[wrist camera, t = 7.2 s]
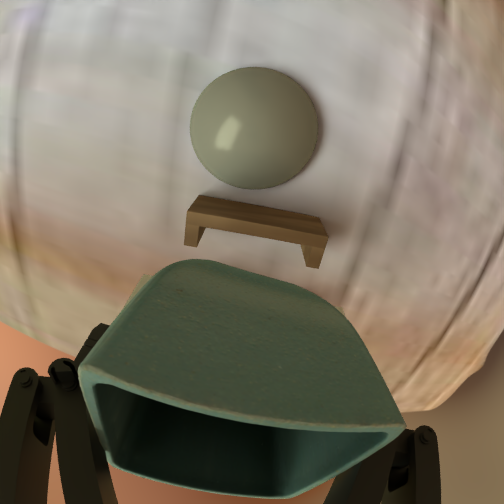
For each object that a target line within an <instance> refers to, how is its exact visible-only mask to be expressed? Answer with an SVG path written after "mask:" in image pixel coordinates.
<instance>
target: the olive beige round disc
mask: <svg viewBox="0 0 504 504" xmlns="http://www.w3.org/2000/svg"><path fill="white" fill-rule="evenodd" d="M317 135H318V122H317V116H316V112H315V109H314V106H313V104H312V102H311V100H310V98H309V97H308V95H307V94H306V92H305V91H304V90H303V89H302V88H301V87H300V86H299V85H298V84H297V83H296V82H295V81H294V80H292V79H291V78H289V77H288V76H286V75H284V74H282V73H280V72H277V71H275V70H271V69H267V68H260V67H247V68H241V69H237V70H233V71H230V72H228V73H226V74H223V75H222V76H220V77H218V78H217V79H215V80H214V81H213V82H212V83H210V84H209V85H208V86H207V87H206V88H205V89H204V91H203V92H202V93H201V95H200V96H199V98H198V100H197V101H196V103H195V106H194V108H193V111H192V115H191V120H190V136H191V141H192V145H193V148H194V151H195V153H196V155H197V157H198V159H199V160H200V162H201V163H202V164H203V166H204V167H205V168H206V169H207V170H208V171H209V172H210V173H211V174H212V175H214V176H215V177H216V178H218V179H219V180H221V181H223V182H225V183H227V184H229V185H232V186H235V187H239V188H244V189H264V188H269V187H273V186H276V185H279V184H281V183H283V182H285V181H287V180H289V179H290V178H292V177H293V176H295V175H296V174H297V173H298V172H299V171H300V170H301V169H302V168H303V167H304V166H305V165H306V163H307V162H308V160H309V159H310V157H311V155H312V153H313V151H314V148H315V145H316V142H317Z"/></svg>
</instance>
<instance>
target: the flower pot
mask: <svg viewBox="0 0 504 504" xmlns="http://www.w3.org/2000/svg"><path fill="white" fill-rule="evenodd" d="M78 376H79V378H78V379H79V383H80V387H81V390H82V393H83V397H84V400H85V402H86V405H87V408H88V411H89V413H90V416H91V419H92V422H93V424H94V428H95V430H96V433H97V435H98V438H99V442H100V443H101V445H102V447H103V449H104V450H105V452H106V457H107V461H108V462H109V463H110V464H111V465H112V466H113V467H115V468H117V469H120V470H123V471H125V472H128V473H131V474H135V475H137V476H140V477H142V478H147V479H150V480H154V481H158V482H162V483H166V484H170V485H174V486H179V487H183V488H188V489H194V490H199V491H204V492H211V493H217V494H226V495H233V496H243V497H254V498H268V499H284V498H285V499H287V498H292V497H295V496H297V495H300V494H302V493H304V492H306V491H308V490H310V489H312V488H314V487H316V486H318V485H320V484H322V483H324V482H326V481H328V480H330V479H331V478H334V477H335V476H337V475H339V474H340V473H342V472H344V471H346V470H347V469H349V468H351V467H352V466H354V465H356V464H357V463H359V462H360V461H362V460H364V459H366V458H367V457H369V456H370V455H372V454H373V453H375V452H376V451H378V450H379V449H381V448H383V447H384V446H386V445H387V444H388V443H390V442H391V441H393V440H394V439H395V438H396V437H398V436H399V435H400V434H401V433H402V432H403V430H405V428H406V423H405V421H404V419H403V417H402V416H401V413H400V411H399V409H398V407H397V405H396V403H395V401H394V399H393V397H392V395H391V393H390V391H389V389H388V387H387V385H386V383H385V381H384V379H383V377H382V375H381V373H380V372H379V370H378V368H377V366H376V364H375V362H374V360H373V359H372V357H371V355H370V353H369V351H368V349H367V348H366V346H365V344H364V342H363V341H362V339H361V338H360V336H359V334H358V333H357V331H356V330H355V328H354V327H353V326H352V324H351V323H350V322H349V321H348V320H347V319H346V317H345V316H344V315H343V314H342V313H341V312H339V311H338V310H337V309H336V308H335V307H334V306H332V305H331V304H330V303H328V302H327V301H326V300H324V299H322V298H321V297H319V296H317V295H316V294H314V293H312V292H310V291H308V290H305V289H303V288H301V287H299V286H297V285H294V284H291V283H288V282H284V281H280V280H277V279H273V278H270V277H266V276H262V275H259V274H255V273H252V272H248V271H245V270H242V269H238V268H235V267H232V266H228V265H225V264H222V263H219V262H215V261H211V260H201V259H190V260H183V261H179V262H176V263H173V264H171V265H169V266H167V267H165V268H163V269H162V270H160V271H159V272H157V273H156V274H155V275H154V276H152V277H151V278H150V279H149V281H148V282H147V283H146V284H145V285H144V286H143V287H142V288H141V289H140V290H139V291H138V293H137V294H136V295H135V296H134V297H133V298H132V300H131V301H130V302H129V303H128V304H127V305H126V307H125V308H124V309H123V310H122V311H121V313H120V314H119V315H118V316H117V318H116V319H115V320H114V321H113V323H112V324H111V325H110V326H109V328H108V329H107V330H106V332H105V333H104V334H103V335H102V337H101V338H100V339H99V341H98V342H97V343H96V344H95V346H94V347H93V348H92V350H91V351H90V352H89V354H88V355H87V356H86V358H85V359H84V360H83V361H82V363H81V364H80V365H79V367H78Z"/></svg>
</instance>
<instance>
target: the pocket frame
mask: <svg viewBox="0 0 504 504" xmlns="http://www.w3.org/2000/svg"><path fill="white" fill-rule="evenodd" d="M206 227H207V228H213V229H219V230H224V231H230V232H236V233H241V234H247V235H252V236H258V237H263V238H269V239H274V240H280V241H285V242H291V243H296V244H301V248H302V252H303V256H304V259H305V263H306V267H311V268H317V269H319V266H320V263H321V260H322V256H323V253H324V250H325V247H326V244H327V241H328V235H327V233H326V231H325V229H324V227H323V225H322V223H321V221H320V219H319V217H314V216H309V215H305V214H300V213H295V212H290V211H285V210H279V209H274V208H269V207H264V206H258V205H253V204H247V203H242V202H236V201H230V200H225V199H219V198H213V197H206V196H200V195H199V196H198V197H197V198H196V200H195V201H194V202H193V204H192V205H191V206H190V208H189V209H188V211H187V217H186V228H185V239H184V245H187V246H192V247H197V246H198V243H199V241H200V239H201V237H202V235H203V233H204V231H205V228H206Z"/></svg>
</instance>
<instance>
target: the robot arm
mask: <svg viewBox="0 0 504 504" xmlns="http://www.w3.org/2000/svg"><path fill="white" fill-rule="evenodd" d="M151 277H152V276H150V275H145V274H144V275H143V276H142V278H141V279H140V281H139V283H138V284H137V286H136V288H135V289H134V291H133V293H132V294H131V296H130V298H129V299H128V301H127V303H126V304H125V306H124V308H125V307H126V305H127V304H128V303H129V302H130V301H131V300H132V298H133V297H134V296H135V295H136V294H137V293H138V291H139V290H140V289H141V288H142V287H143V286H144V285H145V284H146V283H147V282H148V281H149V279H150V278H151ZM334 307H335V306H334ZM124 308H123V309H124ZM335 308H336V309H337V310H338V311H339V312H341V313H342V314H343V315H344V316H345V314H344V311H343V308H342V307H335ZM123 309H122V310H123ZM109 326H110V325H106V324H103V323H101V324H99V325H98V326H97V327H95V328H94V329H93V330H92V331H91V333H90V335H89V336H88V339H87V340H86V341H85V343H84V346H82V348H81V350H80V352H79V353H78V355H77V357H76V358H75V360H74V361H73V360H71V359H68V358H61V359H57V360H55V361H54V362H52V364H51V365H50V366H49V369H48V373H49V375H50V377H44V376H38V374H37V373H36V372H35V370H33V369H31V368H22V369H19V370H18V371H17V372H16V373H15V375H14V377H13V379H12V382H11V385H10V387H9V391H8V393H7V397H6V400H5V403H4V406H3V409H2V413H1V416H0V504H47V492H48V479H49V471H50V462H51V454H52V448H53V442H54V436H55V432H56V445H57V454H58V462H59V470H60V476H61V483H62V488H63V494H64V499H65V503H66V504H118V501H117V498H116V494H115V491H114V487H113V483H112V479H111V475H110V471H109V467H108V462H107V457H106V452H105V450H104V449H103V447H102V445H101V443H100V442H99V438H98V435H97V433H96V430H95V428H94V424H93V422H92V419H91V416H90V413H89V411H88V408H87V405H86V402H85V400H84V397H83V393H82V390H81V387H80V383H79V379H78V378H79V376H78V367H79V365H80V364H81V363H82V361H83V360H84V359H85V358H86V356H87V355H88V354H89V352H90V351H91V350H92V348H93V347H94V346H95V344H96V343H97V342H98V341H99V339H100V338H101V337H102V335H103V334H104V333H105V332H106V330H107V329H108V328H109ZM380 503H381V504H441V480H440V464H439V452H438V442H437V436H436V433H435V432H434V430H433V429H432V428H430V427H429V426H425V425H424V426H420V427H418V428H417V429H416V430H409V429H405V430H403V432H402V433H401V434H400V435H399V436H398V437H396V438H395V439H394V440H393V441H391V442H390V443H388V444H387V445H386V446H384V447H383V448H381V449H379V450H378V451H376V452H375V453H373V454H372V455H370V456H369V457H367V458H366V459H364V460H362V461H360V462H359V463H357V464H356V465H354V466H352V467H351V468H349V469H347V470H346V471H344V472H342V473H340V474H339V475H337V476H336V477H335V479H334V482H333V484H332V486H331V488H330V491H329V493H328V495H327V497H326V499H325V501H324V503H323V504H380Z"/></svg>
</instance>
